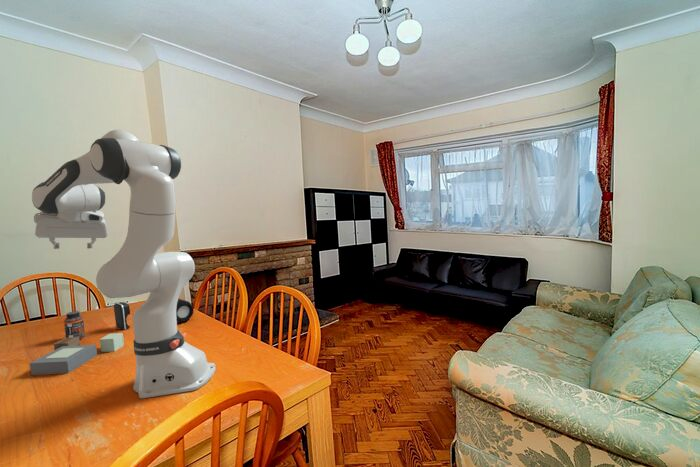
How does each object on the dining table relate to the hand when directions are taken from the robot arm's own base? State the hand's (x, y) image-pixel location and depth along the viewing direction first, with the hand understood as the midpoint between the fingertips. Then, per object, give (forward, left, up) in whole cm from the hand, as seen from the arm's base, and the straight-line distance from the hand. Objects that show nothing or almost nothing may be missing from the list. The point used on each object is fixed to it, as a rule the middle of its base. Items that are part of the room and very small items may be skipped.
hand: (73, 248), depth 118 cm
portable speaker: (-19, -28, -39) cm, 52 cm away
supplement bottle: (+10, -8, -39) cm, 41 cm away
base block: (-5, +14, -39) cm, 42 cm away
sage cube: (-13, +3, -39) cm, 41 cm away
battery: (-3, -18, -39) cm, 43 cm away
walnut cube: (+2, +5, -39) cm, 39 cm away
